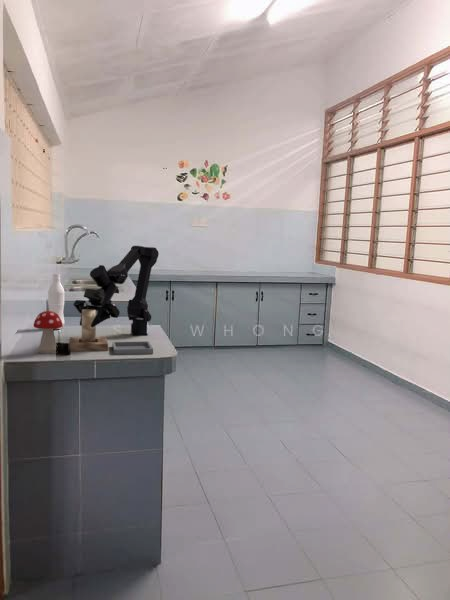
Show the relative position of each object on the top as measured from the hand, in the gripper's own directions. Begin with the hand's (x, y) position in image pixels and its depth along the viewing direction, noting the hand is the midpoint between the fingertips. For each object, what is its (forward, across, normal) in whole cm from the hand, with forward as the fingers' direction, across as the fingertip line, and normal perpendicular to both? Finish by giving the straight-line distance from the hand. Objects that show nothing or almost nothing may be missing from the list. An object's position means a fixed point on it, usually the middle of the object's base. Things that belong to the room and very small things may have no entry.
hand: (86, 325), depth 189 cm
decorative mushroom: (+16, -6, -4) cm, 17 cm away
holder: (+5, 0, +7) cm, 9 cm away
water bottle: (-11, -37, +23) cm, 45 cm away
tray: (+2, +17, +10) cm, 20 cm away
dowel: (+4, 0, +6) cm, 7 cm away
